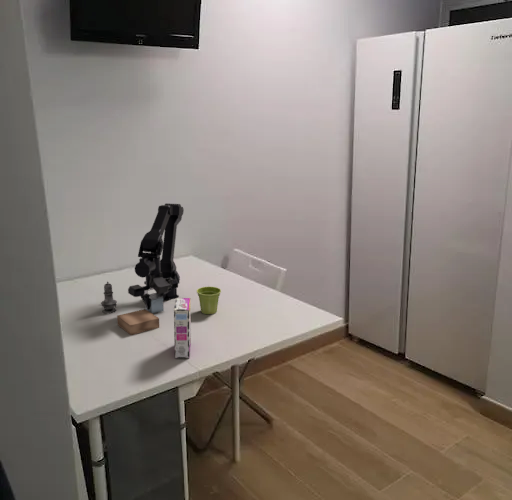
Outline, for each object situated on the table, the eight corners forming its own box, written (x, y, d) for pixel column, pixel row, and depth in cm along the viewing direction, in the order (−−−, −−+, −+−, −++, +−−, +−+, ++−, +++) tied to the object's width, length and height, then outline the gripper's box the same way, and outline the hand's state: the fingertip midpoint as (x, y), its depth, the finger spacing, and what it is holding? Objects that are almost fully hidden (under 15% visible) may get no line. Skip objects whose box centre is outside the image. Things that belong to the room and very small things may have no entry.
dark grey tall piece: (113, 314, 198) (111, 284, 195) (98, 313, 199) (96, 283, 196) (120, 308, 203) (118, 279, 200) (106, 307, 205) (104, 278, 201)
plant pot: (225, 309, 204) (225, 288, 202) (213, 318, 196) (213, 296, 194) (204, 305, 208) (204, 285, 206) (192, 313, 200) (191, 292, 197)
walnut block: (145, 318, 195) (145, 308, 194) (159, 328, 187) (159, 318, 186) (117, 325, 189) (117, 315, 188) (130, 336, 180) (130, 325, 179)
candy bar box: (190, 358, 164) (189, 309, 159) (174, 359, 163) (172, 310, 159) (191, 343, 175) (190, 297, 170) (176, 343, 174) (175, 297, 170)
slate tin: (157, 306, 206) (156, 292, 204) (163, 310, 202) (163, 296, 200) (145, 309, 203) (144, 295, 201) (151, 313, 199) (151, 299, 197)
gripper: (140, 279, 186) (142, 320, 190) (185, 270, 198) (186, 308, 202) (126, 271, 195) (128, 311, 199) (170, 263, 206) (171, 300, 210)
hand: (154, 307), depth 202 cm, fingers closed on slate tin, 5 cm apart
